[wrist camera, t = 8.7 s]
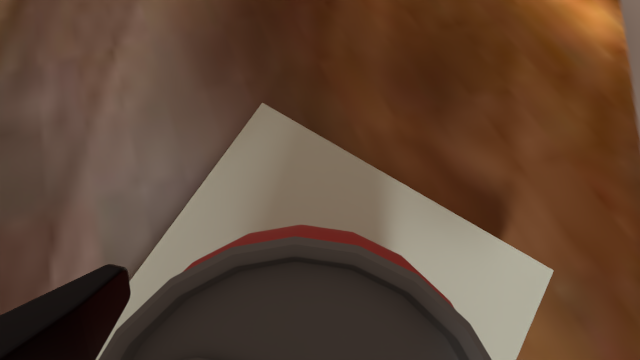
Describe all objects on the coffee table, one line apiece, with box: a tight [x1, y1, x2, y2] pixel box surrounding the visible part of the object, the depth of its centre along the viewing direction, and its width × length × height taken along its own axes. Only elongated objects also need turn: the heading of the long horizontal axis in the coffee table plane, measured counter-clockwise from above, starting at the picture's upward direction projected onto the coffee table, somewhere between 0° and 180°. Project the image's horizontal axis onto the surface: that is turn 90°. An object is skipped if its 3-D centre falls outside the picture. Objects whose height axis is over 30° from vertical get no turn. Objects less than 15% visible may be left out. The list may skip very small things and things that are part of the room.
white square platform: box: [96, 103, 553, 360], centre depth 18 cm, size 16×16×4 cm
